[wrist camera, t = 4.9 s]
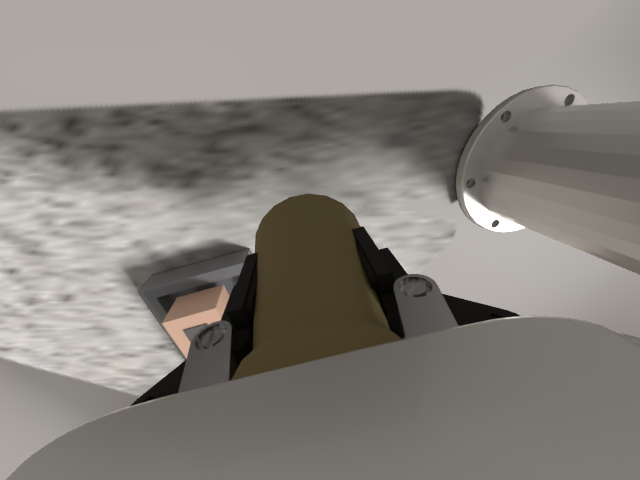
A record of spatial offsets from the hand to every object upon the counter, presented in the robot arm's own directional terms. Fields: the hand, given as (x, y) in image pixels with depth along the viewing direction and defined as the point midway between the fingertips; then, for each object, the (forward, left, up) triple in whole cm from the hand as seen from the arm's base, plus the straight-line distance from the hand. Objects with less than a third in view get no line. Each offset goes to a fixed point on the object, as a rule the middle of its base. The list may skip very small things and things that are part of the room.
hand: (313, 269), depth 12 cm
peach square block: (+10, +6, -8) cm, 14 cm away
